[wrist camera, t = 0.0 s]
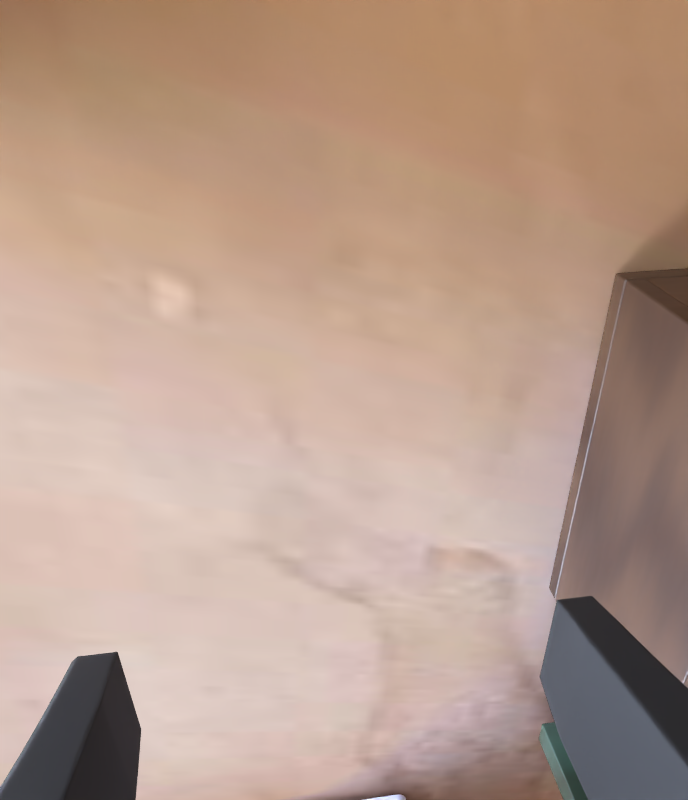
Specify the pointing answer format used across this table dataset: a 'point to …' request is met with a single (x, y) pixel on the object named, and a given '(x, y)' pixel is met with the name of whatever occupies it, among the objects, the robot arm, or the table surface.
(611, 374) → the cabinet
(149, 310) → the table surface
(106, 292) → the table surface
